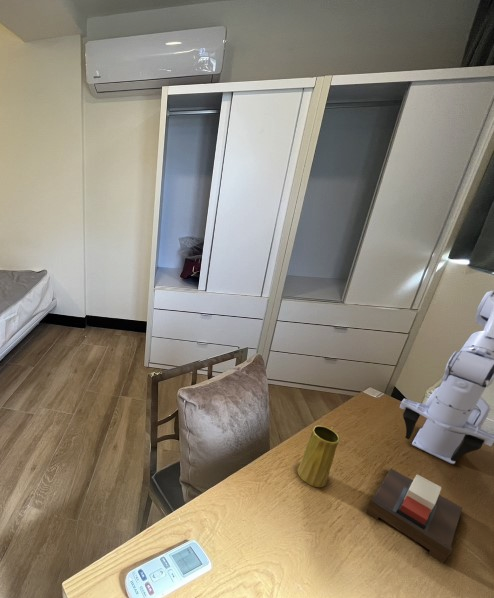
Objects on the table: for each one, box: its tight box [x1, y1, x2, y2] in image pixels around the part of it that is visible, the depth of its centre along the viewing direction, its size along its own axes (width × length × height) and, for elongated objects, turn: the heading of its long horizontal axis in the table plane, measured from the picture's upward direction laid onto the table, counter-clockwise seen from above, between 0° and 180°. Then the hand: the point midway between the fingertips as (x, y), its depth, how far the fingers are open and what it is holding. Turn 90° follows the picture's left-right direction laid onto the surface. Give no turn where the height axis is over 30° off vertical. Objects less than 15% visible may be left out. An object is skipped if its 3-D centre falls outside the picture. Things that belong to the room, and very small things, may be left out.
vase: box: [296, 425, 341, 488], centre depth 74 cm, size 6×6×14 cm
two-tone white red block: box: [396, 473, 443, 530], centre depth 67 cm, size 10×4×4 cm, turn 125°
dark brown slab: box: [365, 468, 463, 564], centre depth 67 cm, size 16×12×4 cm
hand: (429, 447), depth 73 cm, fingers open, 7 cm apart
